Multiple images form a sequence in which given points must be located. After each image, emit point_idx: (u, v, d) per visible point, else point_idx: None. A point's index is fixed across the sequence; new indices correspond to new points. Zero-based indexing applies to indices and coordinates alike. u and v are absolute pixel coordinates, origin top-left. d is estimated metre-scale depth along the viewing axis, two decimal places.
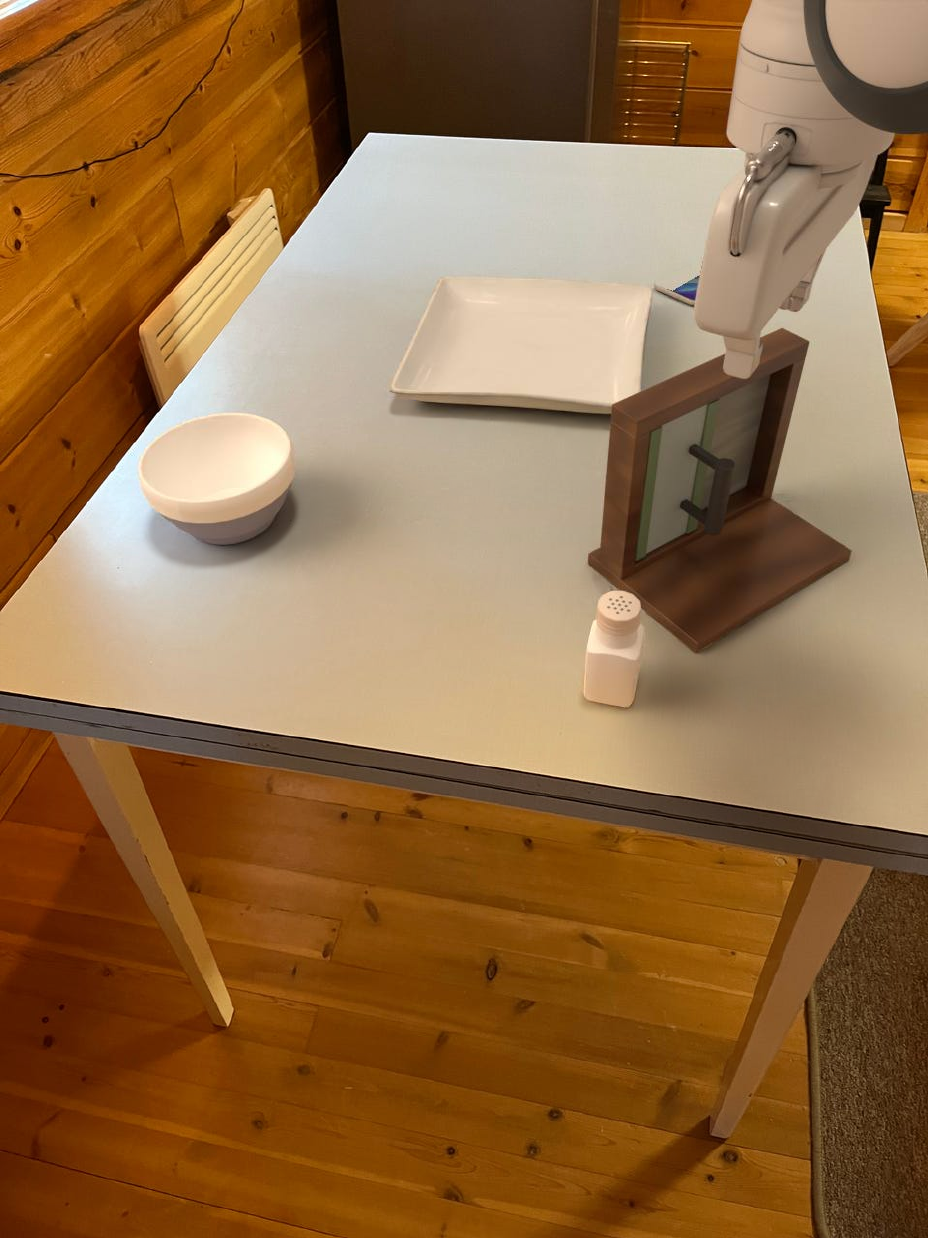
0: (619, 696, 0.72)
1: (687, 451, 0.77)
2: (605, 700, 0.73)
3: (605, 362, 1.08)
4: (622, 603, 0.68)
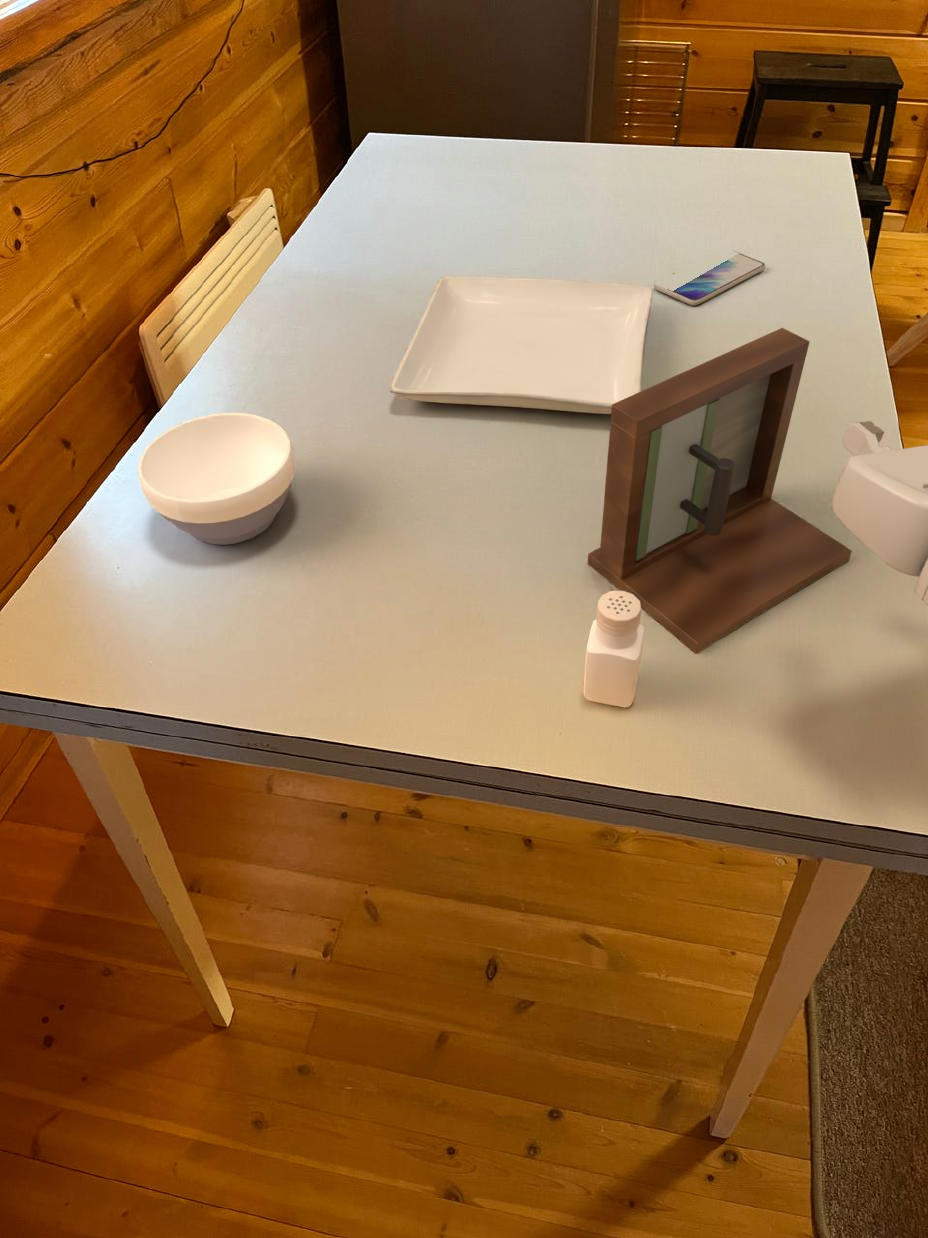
0: (619, 696, 0.72)
1: (687, 451, 0.77)
2: (605, 700, 0.73)
3: (605, 362, 1.08)
4: (622, 603, 0.68)
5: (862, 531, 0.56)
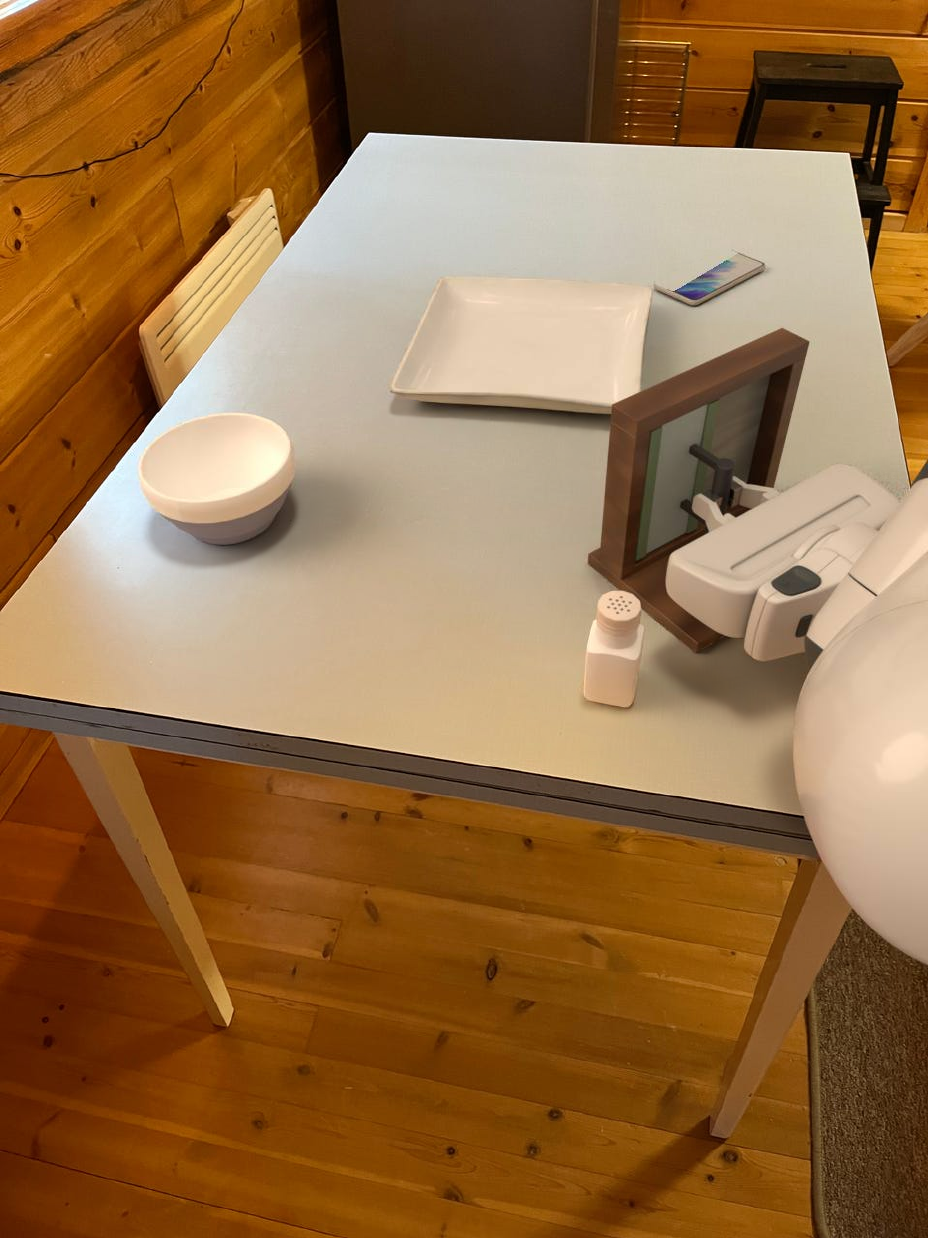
0: (619, 696, 0.72)
1: (687, 451, 0.77)
2: (605, 700, 0.73)
3: (605, 362, 1.08)
4: (622, 603, 0.68)
5: (694, 610, 0.70)
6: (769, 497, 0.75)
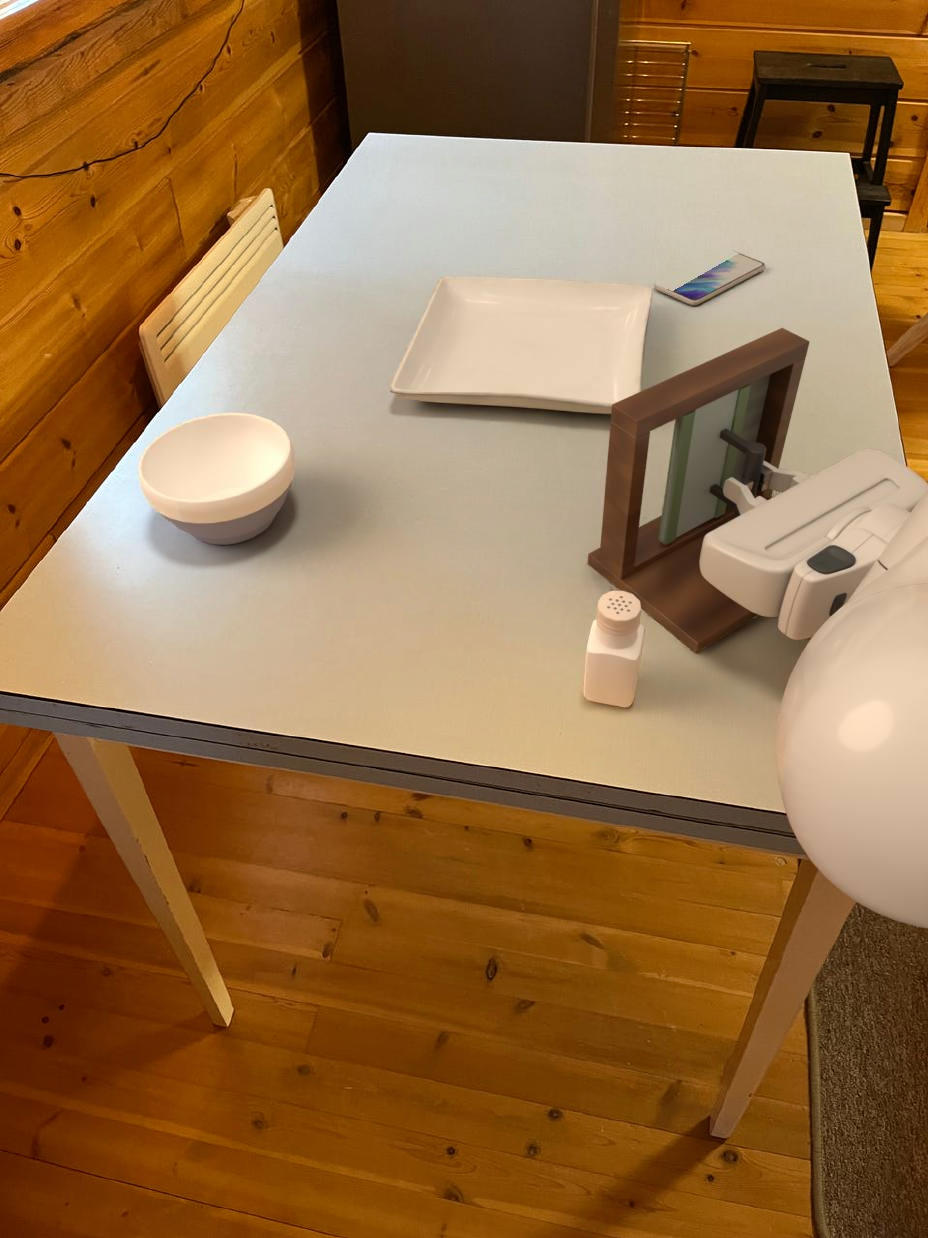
0: (619, 696, 0.72)
1: (718, 436, 0.78)
2: (605, 700, 0.73)
3: (605, 362, 1.08)
4: (622, 603, 0.68)
5: (729, 590, 0.71)
6: (799, 481, 0.76)
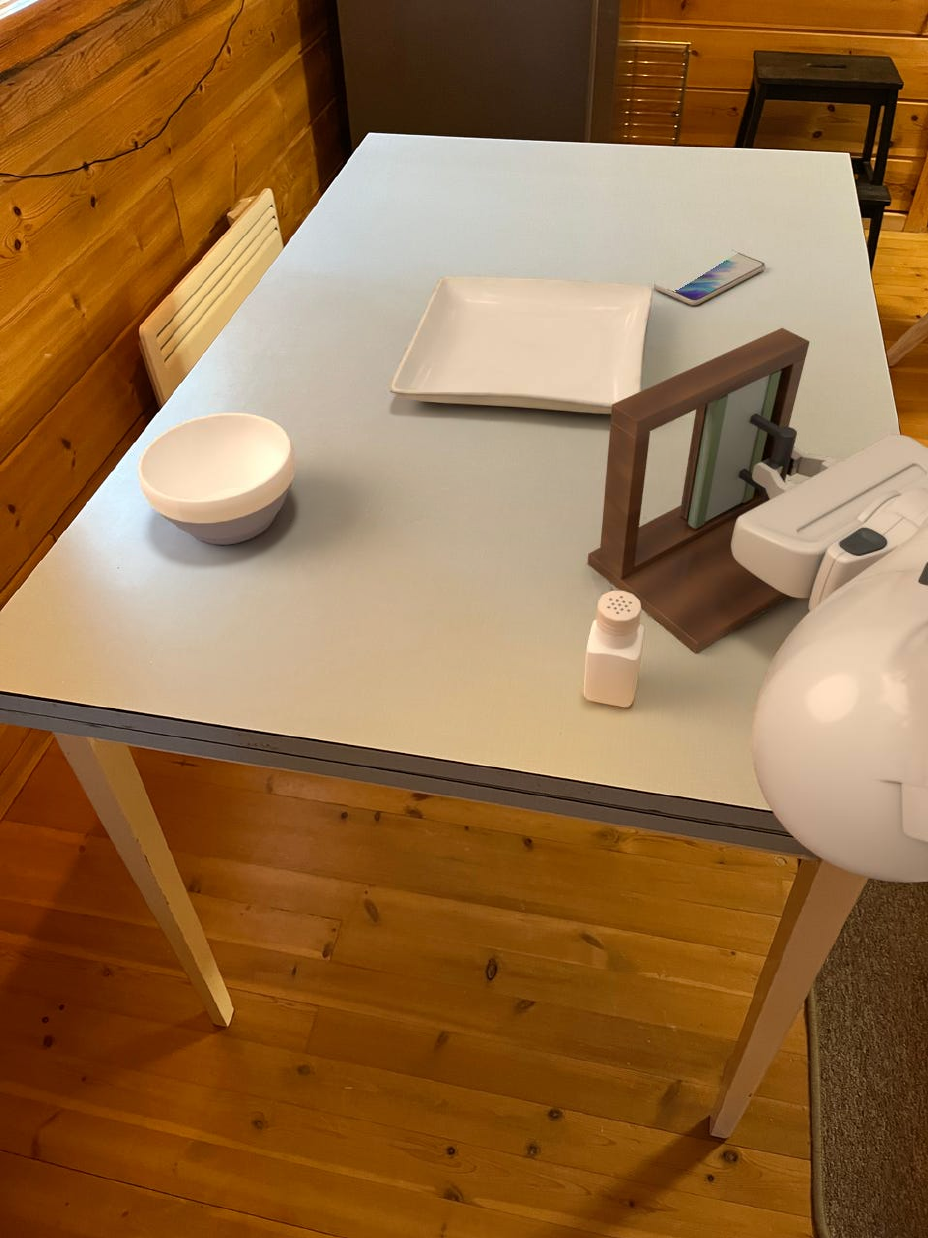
0: (619, 696, 0.72)
1: (748, 421, 0.79)
2: (605, 700, 0.73)
3: (605, 362, 1.08)
4: (622, 603, 0.68)
5: (760, 572, 0.72)
6: (828, 465, 0.78)
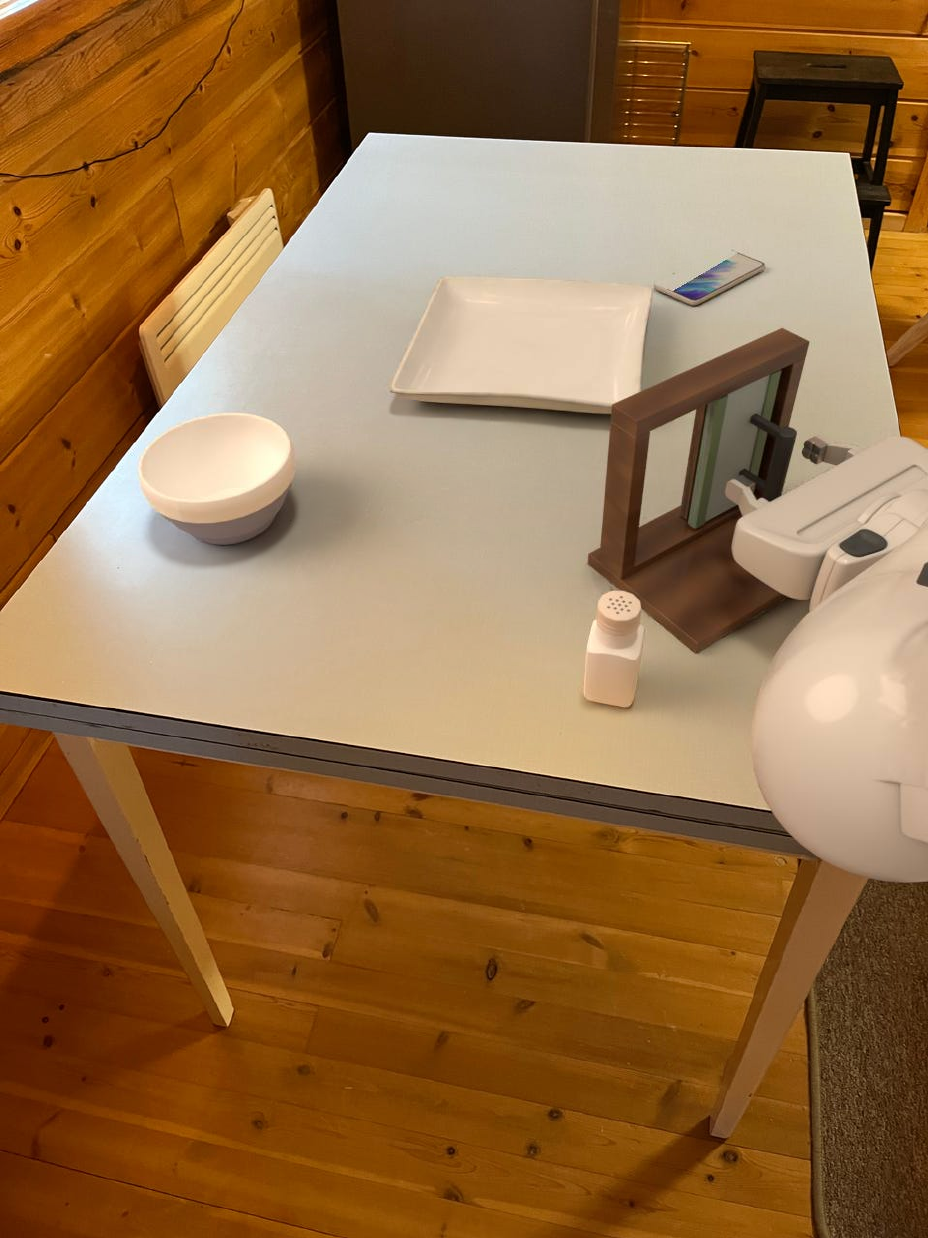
0: (619, 696, 0.72)
1: (748, 421, 0.79)
2: (605, 700, 0.73)
3: (605, 362, 1.08)
4: (622, 603, 0.68)
5: (761, 574, 0.72)
6: (854, 453, 0.79)
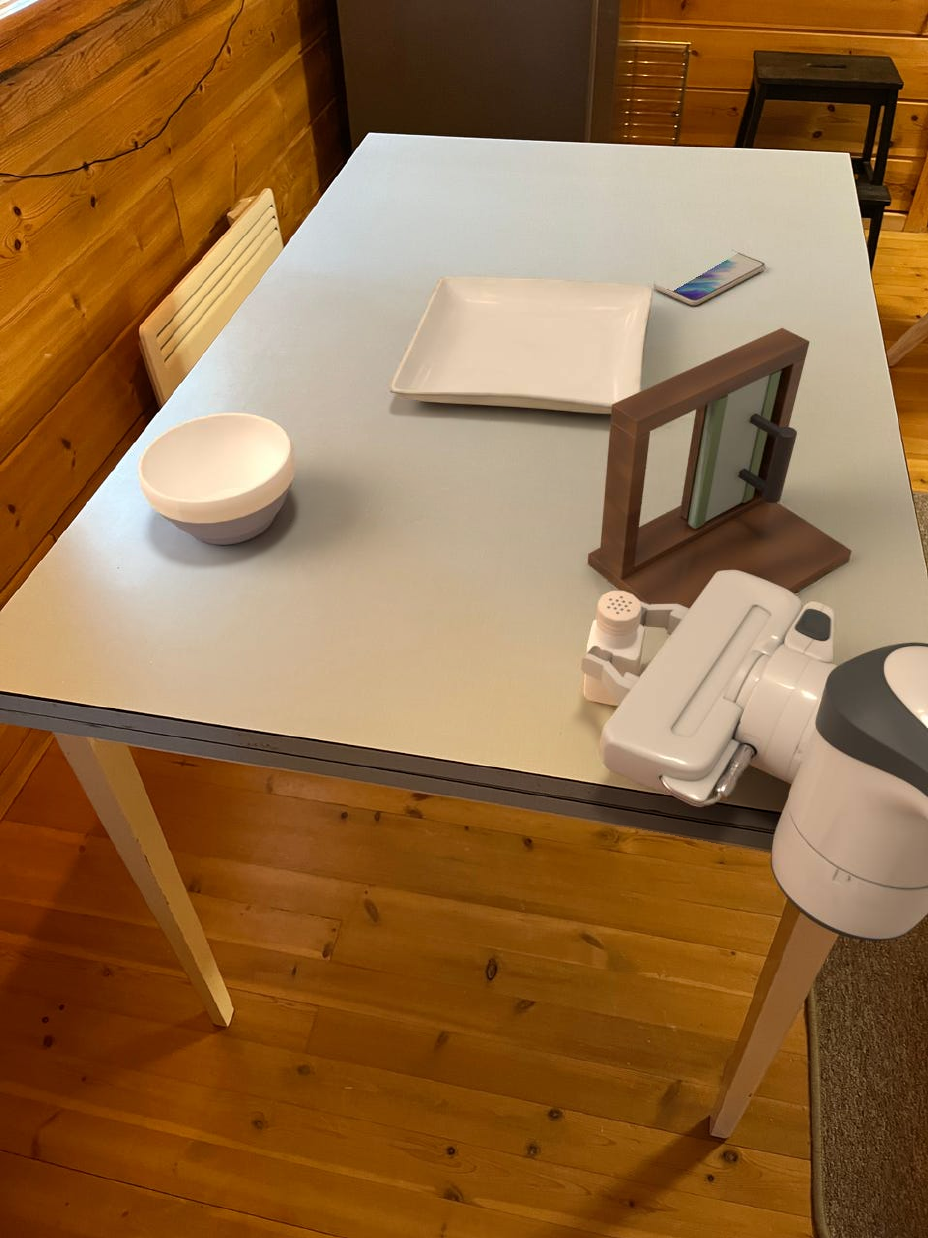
0: None
1: (748, 421, 0.79)
2: (605, 700, 0.73)
3: (605, 362, 1.08)
4: (622, 603, 0.68)
5: None
6: None
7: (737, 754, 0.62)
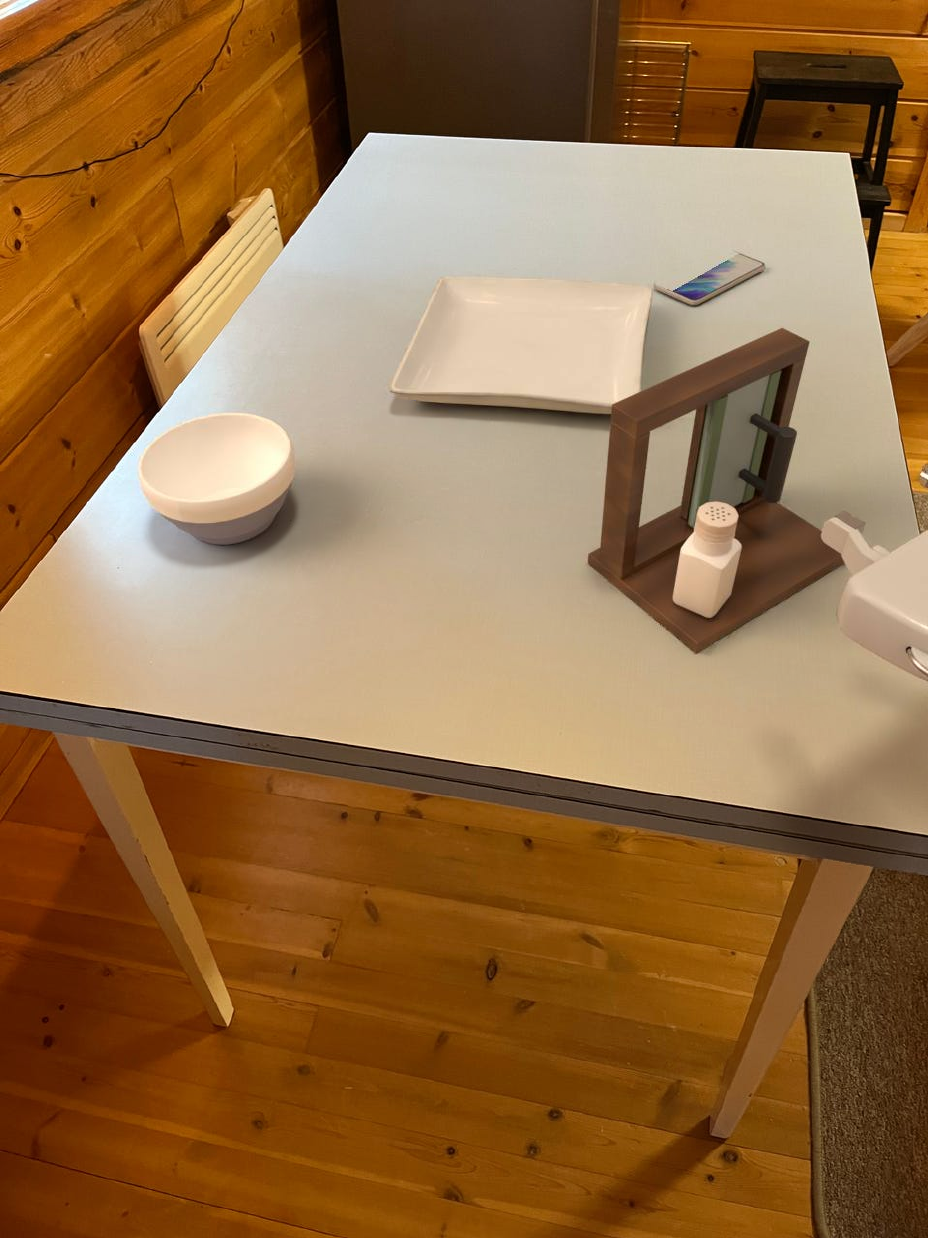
0: (702, 604, 0.77)
1: (748, 421, 0.79)
2: (690, 606, 0.78)
3: (605, 362, 1.08)
4: (721, 513, 0.73)
5: None
6: None
7: None
